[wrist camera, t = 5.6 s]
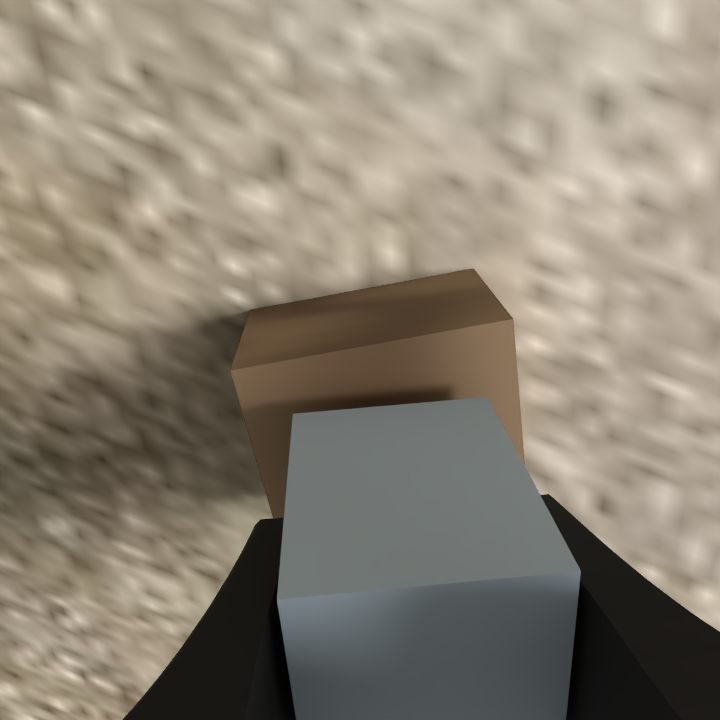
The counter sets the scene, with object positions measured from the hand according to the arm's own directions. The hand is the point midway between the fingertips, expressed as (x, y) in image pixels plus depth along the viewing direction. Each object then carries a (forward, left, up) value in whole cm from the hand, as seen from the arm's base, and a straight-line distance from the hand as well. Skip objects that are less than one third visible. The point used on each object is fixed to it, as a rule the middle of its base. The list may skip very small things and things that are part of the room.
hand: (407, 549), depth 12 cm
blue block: (0, 0, -2) cm, 2 cm away
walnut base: (0, 0, -7) cm, 7 cm away
